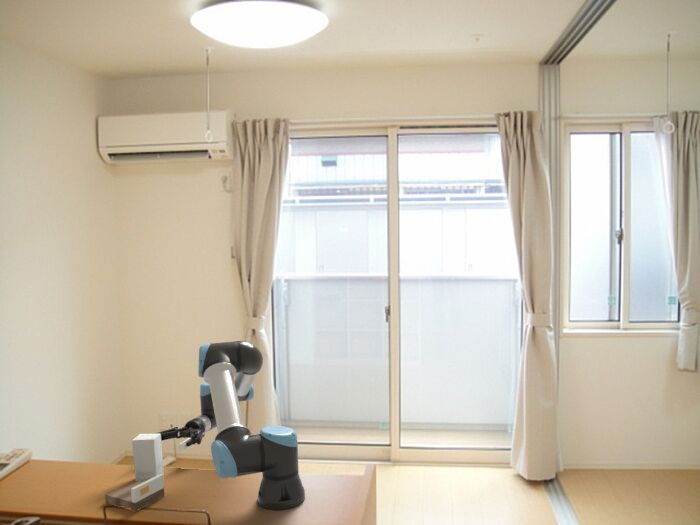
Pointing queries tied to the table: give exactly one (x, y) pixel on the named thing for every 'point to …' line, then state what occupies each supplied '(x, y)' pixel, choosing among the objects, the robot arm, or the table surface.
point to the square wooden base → (137, 493)
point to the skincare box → (147, 456)
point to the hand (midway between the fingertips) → (164, 445)
